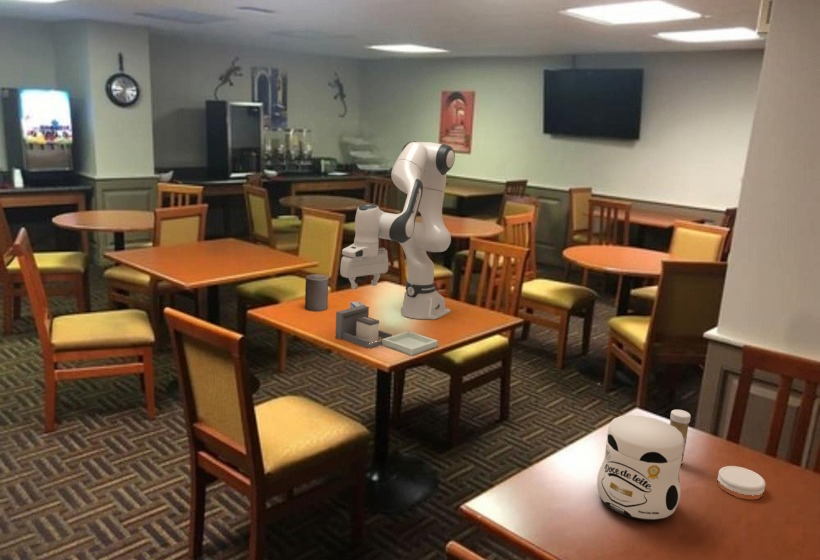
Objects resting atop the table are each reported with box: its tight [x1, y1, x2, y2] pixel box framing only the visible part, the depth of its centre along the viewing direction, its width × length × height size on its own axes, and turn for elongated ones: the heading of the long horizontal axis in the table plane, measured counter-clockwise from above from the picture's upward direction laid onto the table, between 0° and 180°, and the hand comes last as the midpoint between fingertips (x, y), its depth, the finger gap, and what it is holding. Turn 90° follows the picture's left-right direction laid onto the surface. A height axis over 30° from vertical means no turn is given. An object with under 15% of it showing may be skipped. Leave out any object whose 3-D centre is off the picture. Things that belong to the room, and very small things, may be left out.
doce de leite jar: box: [596, 414, 684, 522], centre depth 145 cm, size 17×17×18 cm
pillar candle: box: [304, 274, 330, 312], centre depth 281 cm, size 10×10×15 cm
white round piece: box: [717, 465, 766, 496], centre depth 156 cm, size 10×10×4 cm
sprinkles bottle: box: [669, 409, 692, 462], centre depth 165 cm, size 5×5×13 cm
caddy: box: [355, 316, 380, 343], centre depth 245 cm, size 5×7×8 cm, turn 49°
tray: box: [381, 330, 439, 357], centre depth 241 cm, size 14×14×2 cm
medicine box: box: [349, 301, 366, 308], centre depth 262 cm, size 8×4×9 cm, turn 23°
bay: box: [335, 304, 393, 349], centre depth 245 cm, size 14×17×10 cm
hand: (364, 286), depth 241 cm, fingers open, 8 cm apart
